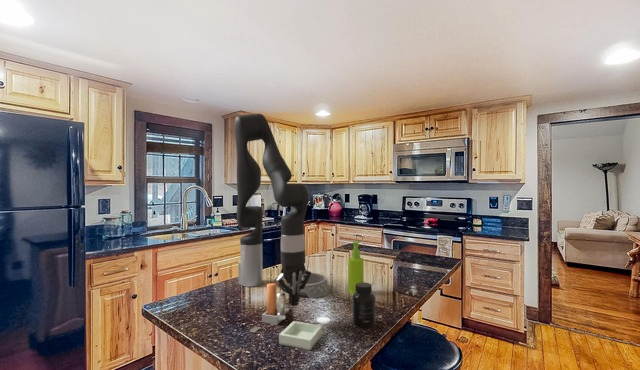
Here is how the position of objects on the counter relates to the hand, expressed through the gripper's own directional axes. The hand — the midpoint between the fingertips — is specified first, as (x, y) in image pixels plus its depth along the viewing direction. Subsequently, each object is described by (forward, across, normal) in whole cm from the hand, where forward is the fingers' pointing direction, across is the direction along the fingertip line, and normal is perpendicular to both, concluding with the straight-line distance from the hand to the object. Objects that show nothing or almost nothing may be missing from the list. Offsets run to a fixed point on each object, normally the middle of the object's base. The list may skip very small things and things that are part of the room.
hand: (294, 304), depth 96 cm
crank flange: (+5, -4, +8) cm, 10 cm away
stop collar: (+5, -4, +6) cm, 9 cm away
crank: (+4, -1, +6) cm, 7 cm away
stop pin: (+5, -4, +6) cm, 9 cm away
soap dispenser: (+6, +35, +5) cm, 35 cm away
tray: (+5, -5, -10) cm, 12 cm away
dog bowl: (+6, +22, +20) cm, 30 cm away
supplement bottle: (+6, +15, -15) cm, 22 cm away
